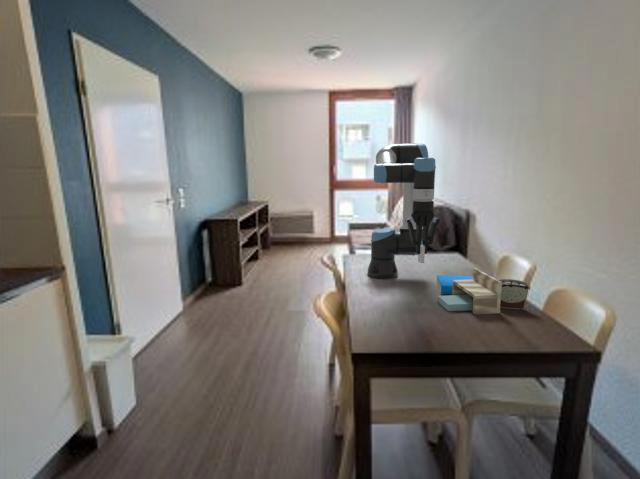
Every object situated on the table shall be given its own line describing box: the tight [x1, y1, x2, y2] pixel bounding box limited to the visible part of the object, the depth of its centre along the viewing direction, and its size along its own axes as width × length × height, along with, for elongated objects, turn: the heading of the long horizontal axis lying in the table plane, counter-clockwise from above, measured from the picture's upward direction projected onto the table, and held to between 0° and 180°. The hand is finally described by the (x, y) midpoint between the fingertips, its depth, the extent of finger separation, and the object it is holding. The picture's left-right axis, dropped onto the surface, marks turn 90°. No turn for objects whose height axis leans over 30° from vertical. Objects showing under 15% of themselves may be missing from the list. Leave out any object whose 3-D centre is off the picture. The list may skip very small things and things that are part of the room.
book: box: [436, 275, 473, 295], centre depth 170 cm, size 17×4×25 cm
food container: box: [498, 278, 531, 311], centre depth 149 cm, size 12×6×10 cm, turn 71°
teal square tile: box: [437, 294, 473, 312], centre depth 150 cm, size 10×12×3 cm
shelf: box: [451, 267, 502, 315], centre depth 150 cm, size 20×10×12 cm, turn 5°
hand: (421, 262), depth 146 cm, fingers closed
